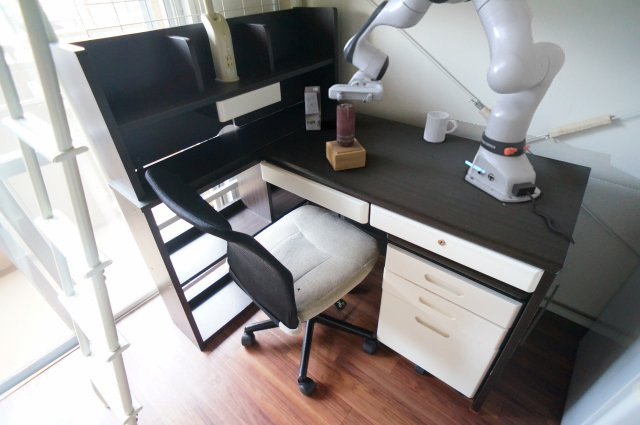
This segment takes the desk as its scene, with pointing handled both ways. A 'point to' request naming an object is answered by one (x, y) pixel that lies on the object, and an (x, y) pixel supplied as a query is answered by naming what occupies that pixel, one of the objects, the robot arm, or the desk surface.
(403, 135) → the desk surface
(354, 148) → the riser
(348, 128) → the can
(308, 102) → the coffee box
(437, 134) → the mug
